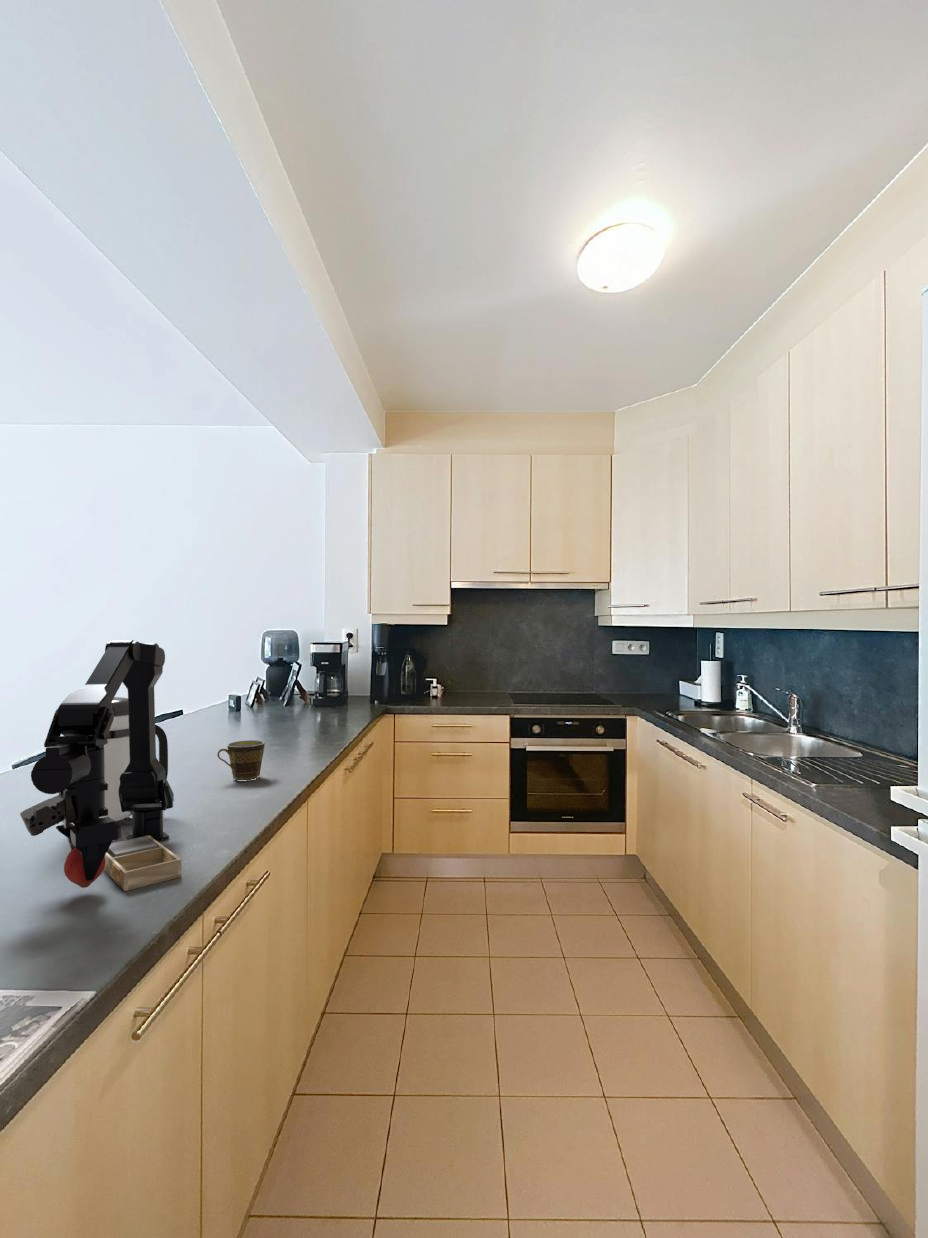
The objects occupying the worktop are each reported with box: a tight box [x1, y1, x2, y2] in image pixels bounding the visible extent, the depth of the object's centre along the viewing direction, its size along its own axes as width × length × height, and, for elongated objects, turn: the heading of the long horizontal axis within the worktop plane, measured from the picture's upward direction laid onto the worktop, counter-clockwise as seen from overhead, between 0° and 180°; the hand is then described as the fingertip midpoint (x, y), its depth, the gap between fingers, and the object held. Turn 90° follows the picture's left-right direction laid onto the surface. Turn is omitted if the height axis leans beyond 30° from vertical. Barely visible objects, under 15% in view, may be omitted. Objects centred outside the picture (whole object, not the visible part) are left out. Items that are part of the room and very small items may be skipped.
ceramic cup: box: [216, 739, 266, 780], centre depth 183 cm, size 13×10×10 cm
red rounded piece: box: [63, 848, 106, 889], centre depth 106 cm, size 6×6×8 cm
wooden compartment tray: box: [103, 835, 182, 892], centre depth 116 cm, size 18×9×3 cm, turn 42°
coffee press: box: [99, 696, 169, 826], centre depth 145 cm, size 17×16×30 cm
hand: (85, 874), depth 106 cm, fingers closed on red rounded piece, 6 cm apart
